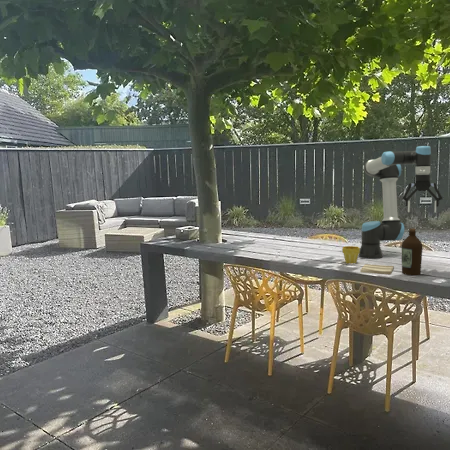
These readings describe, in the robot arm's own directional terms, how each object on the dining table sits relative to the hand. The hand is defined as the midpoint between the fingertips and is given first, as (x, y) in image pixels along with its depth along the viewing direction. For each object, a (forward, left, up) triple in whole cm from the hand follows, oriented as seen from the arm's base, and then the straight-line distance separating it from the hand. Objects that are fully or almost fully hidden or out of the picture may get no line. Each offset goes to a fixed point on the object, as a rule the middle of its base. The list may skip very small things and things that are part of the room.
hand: (421, 212), depth 241 cm
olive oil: (+12, -4, -33) cm, 35 cm away
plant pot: (-6, -40, -33) cm, 52 cm away
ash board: (+10, -22, -33) cm, 41 cm away
